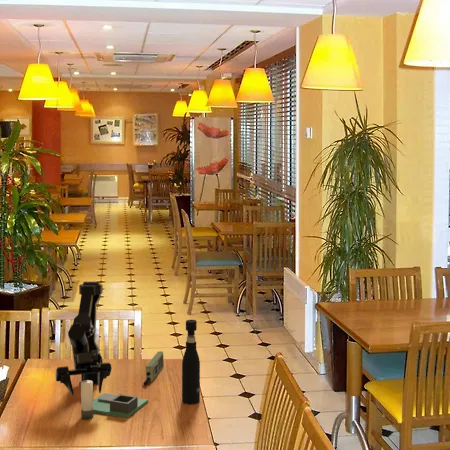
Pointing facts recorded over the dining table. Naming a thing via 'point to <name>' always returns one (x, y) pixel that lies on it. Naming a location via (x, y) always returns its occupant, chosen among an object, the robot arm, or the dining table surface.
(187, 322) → the wine bottle
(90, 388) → the white cylinder
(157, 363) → the handheld radio
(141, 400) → the board
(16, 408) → the dining table surface
